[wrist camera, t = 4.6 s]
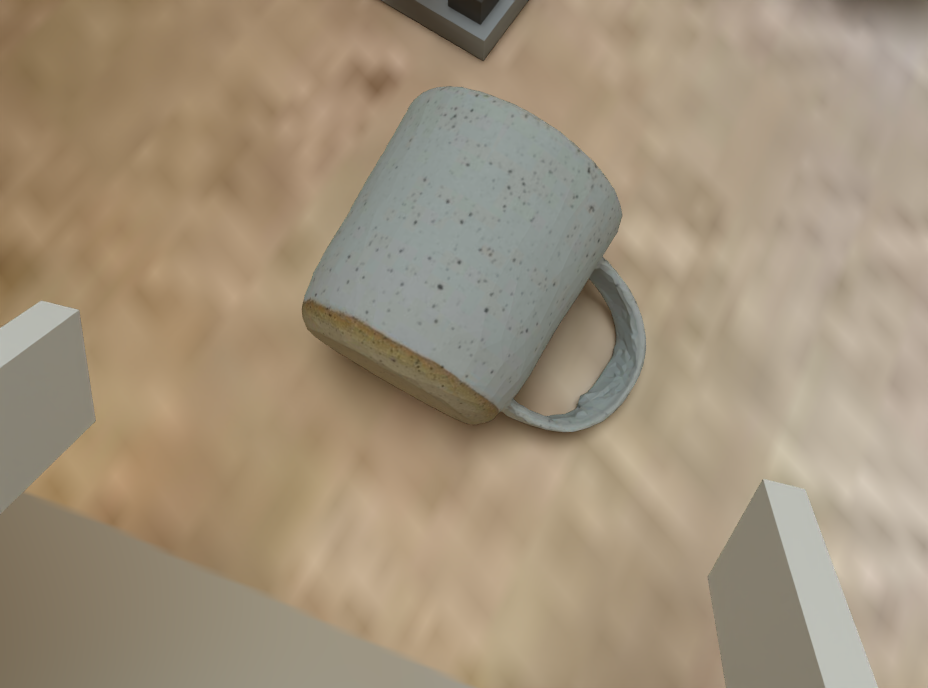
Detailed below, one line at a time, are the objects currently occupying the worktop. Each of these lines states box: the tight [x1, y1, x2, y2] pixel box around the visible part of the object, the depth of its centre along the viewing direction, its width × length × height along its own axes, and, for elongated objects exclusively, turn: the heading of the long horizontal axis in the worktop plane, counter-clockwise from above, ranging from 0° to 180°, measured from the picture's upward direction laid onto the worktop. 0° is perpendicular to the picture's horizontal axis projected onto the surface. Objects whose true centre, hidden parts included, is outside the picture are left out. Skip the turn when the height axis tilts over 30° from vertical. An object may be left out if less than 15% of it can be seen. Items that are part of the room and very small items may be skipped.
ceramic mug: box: [302, 86, 646, 432], centre depth 21 cm, size 11×8×8 cm
